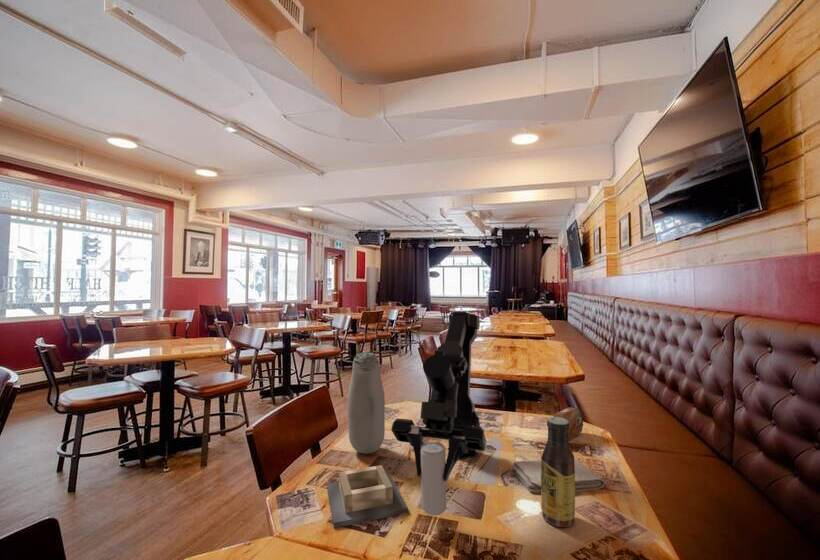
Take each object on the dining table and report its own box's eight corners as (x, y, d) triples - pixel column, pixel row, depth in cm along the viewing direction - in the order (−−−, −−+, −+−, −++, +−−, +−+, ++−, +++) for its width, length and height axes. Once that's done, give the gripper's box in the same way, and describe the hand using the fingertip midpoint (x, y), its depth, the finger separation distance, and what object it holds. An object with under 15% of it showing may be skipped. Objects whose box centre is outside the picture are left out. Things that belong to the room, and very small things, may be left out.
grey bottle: (342, 450, 107) (341, 352, 107) (373, 441, 113) (371, 348, 113) (360, 463, 99) (358, 357, 99) (391, 452, 105) (390, 352, 105)
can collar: (389, 477, 91) (389, 458, 91) (407, 512, 77) (407, 490, 77) (326, 488, 87) (326, 468, 87) (333, 528, 72) (333, 504, 73)
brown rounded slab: (558, 447, 107) (558, 417, 107) (548, 443, 109) (548, 414, 109) (584, 433, 116) (583, 406, 116) (574, 430, 119) (574, 403, 119)
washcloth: (509, 471, 94) (509, 459, 94) (575, 465, 97) (575, 453, 97) (531, 498, 82) (531, 483, 82) (605, 490, 85) (605, 476, 85)
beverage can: (445, 518, 70) (443, 453, 70) (419, 515, 71) (418, 451, 71) (447, 503, 74) (446, 442, 74) (423, 500, 75) (422, 441, 75)
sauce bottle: (536, 511, 77) (534, 414, 77) (565, 509, 77) (563, 412, 78) (550, 532, 70) (548, 426, 71) (582, 529, 71) (580, 424, 71)
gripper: (393, 380, 79) (374, 456, 69) (482, 386, 74) (476, 469, 63) (405, 405, 87) (389, 477, 76) (487, 412, 81) (482, 491, 70)
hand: (431, 478), depth 71 cm, fingers closed on beverage can, 5 cm apart
